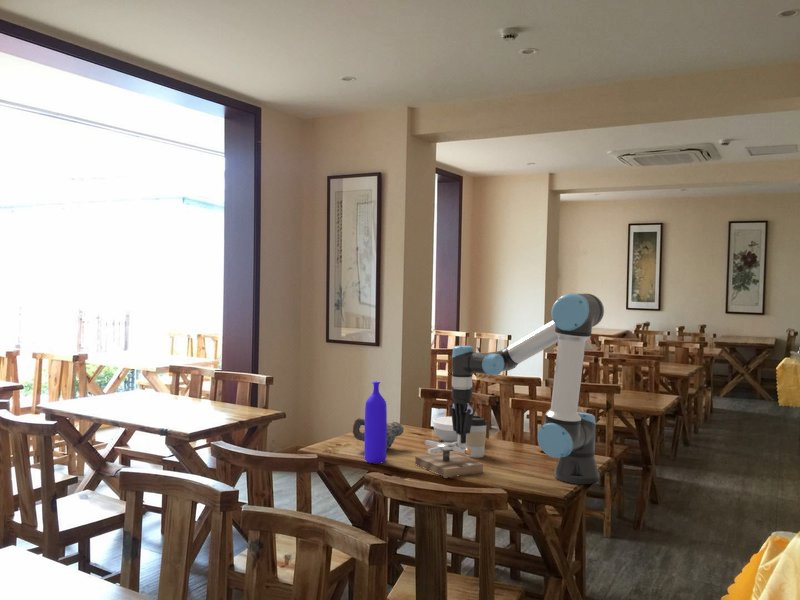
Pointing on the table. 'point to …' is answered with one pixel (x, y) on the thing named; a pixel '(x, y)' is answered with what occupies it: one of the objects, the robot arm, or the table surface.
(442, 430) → the bowl
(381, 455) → the bottle
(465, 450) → the capstan
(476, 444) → the coffee cup
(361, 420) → the teapot
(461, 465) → the level stand
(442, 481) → the table surface
